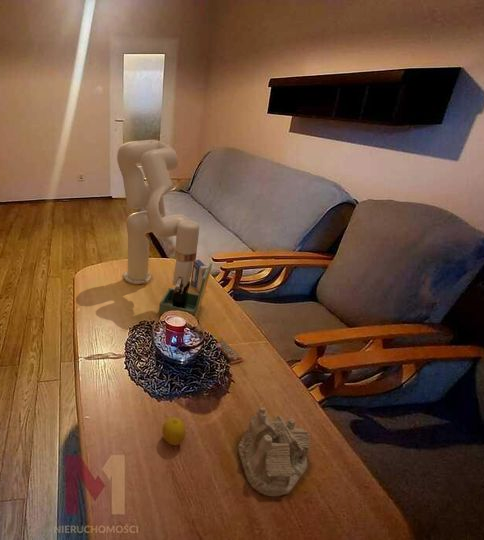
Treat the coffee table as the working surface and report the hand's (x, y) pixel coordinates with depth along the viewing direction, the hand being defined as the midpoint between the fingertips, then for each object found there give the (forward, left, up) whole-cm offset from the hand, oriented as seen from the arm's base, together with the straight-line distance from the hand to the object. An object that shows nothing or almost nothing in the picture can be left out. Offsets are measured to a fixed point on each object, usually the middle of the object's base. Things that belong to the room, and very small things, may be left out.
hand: (181, 295), depth 133 cm
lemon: (+56, +13, -8) cm, 58 cm away
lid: (0, +7, +6) cm, 9 cm away
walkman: (-22, +2, -8) cm, 23 cm away
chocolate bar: (+16, +20, -8) cm, 27 cm away
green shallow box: (0, 0, -8) cm, 8 cm away
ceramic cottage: (+51, +36, -8) cm, 63 cm away
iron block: (0, 0, -7) cm, 7 cm away
